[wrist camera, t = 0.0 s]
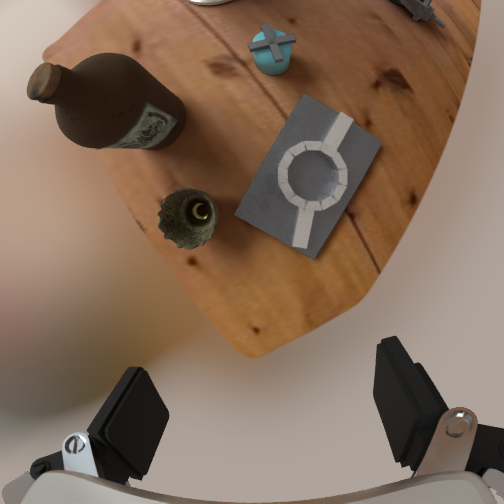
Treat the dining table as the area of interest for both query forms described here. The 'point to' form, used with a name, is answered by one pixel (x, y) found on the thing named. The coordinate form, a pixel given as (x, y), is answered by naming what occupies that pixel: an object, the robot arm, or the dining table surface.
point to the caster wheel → (420, 10)
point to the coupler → (272, 50)
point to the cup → (188, 218)
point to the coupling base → (308, 176)
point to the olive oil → (109, 103)
